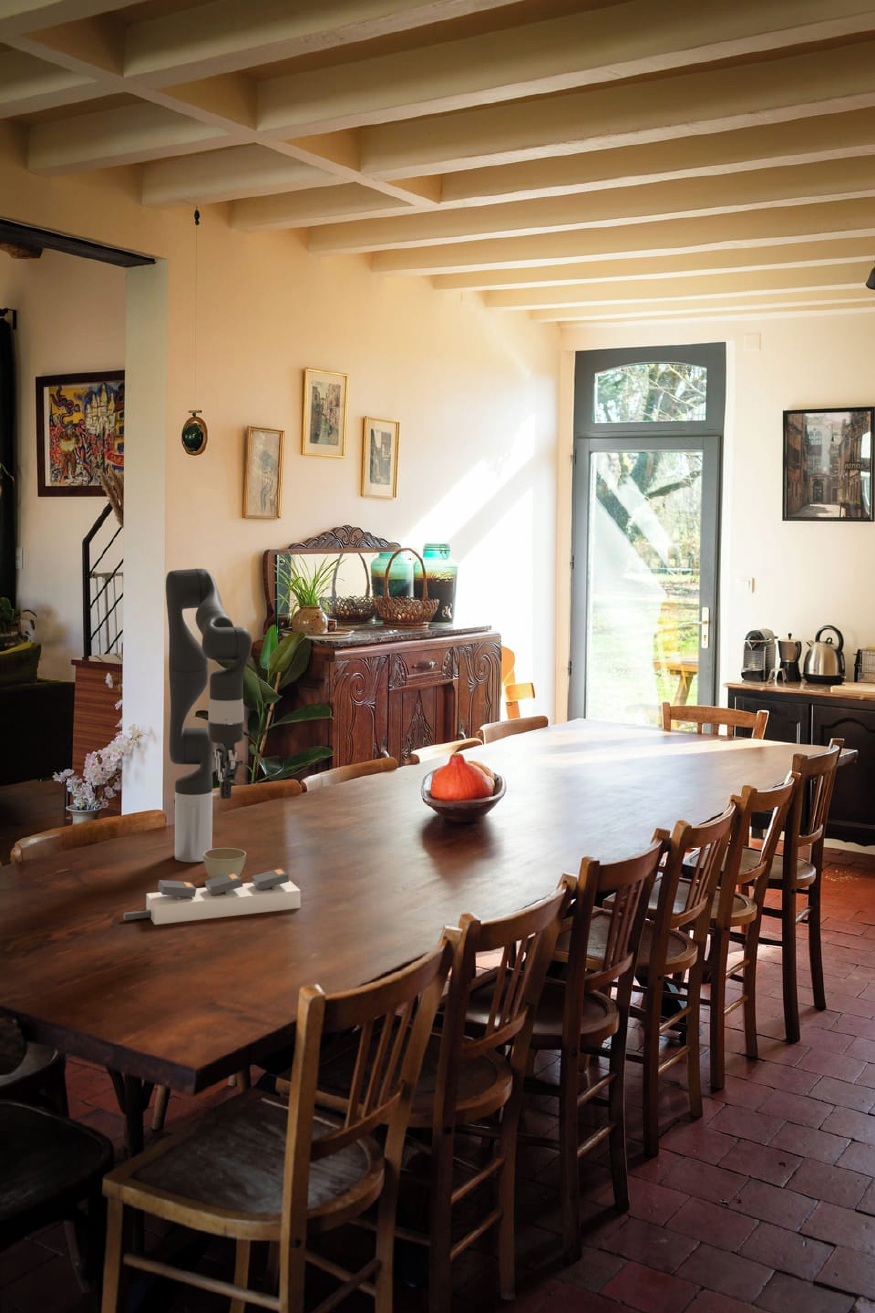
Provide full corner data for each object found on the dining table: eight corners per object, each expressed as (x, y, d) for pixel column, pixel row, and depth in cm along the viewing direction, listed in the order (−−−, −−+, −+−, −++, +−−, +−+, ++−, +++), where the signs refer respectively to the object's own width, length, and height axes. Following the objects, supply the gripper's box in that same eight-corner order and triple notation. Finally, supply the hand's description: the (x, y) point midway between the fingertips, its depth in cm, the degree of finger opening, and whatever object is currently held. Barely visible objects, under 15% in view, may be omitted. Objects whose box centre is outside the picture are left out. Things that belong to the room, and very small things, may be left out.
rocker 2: (206, 888, 257) (204, 880, 257) (236, 880, 260) (235, 872, 259) (211, 895, 252) (210, 887, 252) (243, 886, 255) (241, 878, 255)
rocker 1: (157, 888, 252) (159, 879, 252) (189, 890, 255) (191, 881, 255) (162, 895, 248) (164, 886, 248) (194, 897, 251) (196, 888, 251)
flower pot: (204, 890, 270) (204, 860, 269) (201, 877, 279) (201, 848, 278) (248, 888, 272) (248, 858, 272) (243, 875, 282) (243, 846, 281)
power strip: (120, 914, 252) (120, 892, 251) (287, 896, 267) (288, 875, 267) (128, 927, 243) (128, 905, 243) (300, 908, 259) (300, 887, 259)
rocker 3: (252, 883, 261) (251, 875, 261) (282, 875, 264) (281, 867, 264) (259, 890, 257) (257, 882, 256) (289, 881, 260) (287, 873, 259)
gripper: (201, 715, 256) (200, 792, 258) (216, 725, 245) (215, 806, 246) (235, 713, 260) (234, 790, 261) (251, 723, 248) (250, 803, 250)
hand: (225, 798), depth 254 cm, fingers closed
